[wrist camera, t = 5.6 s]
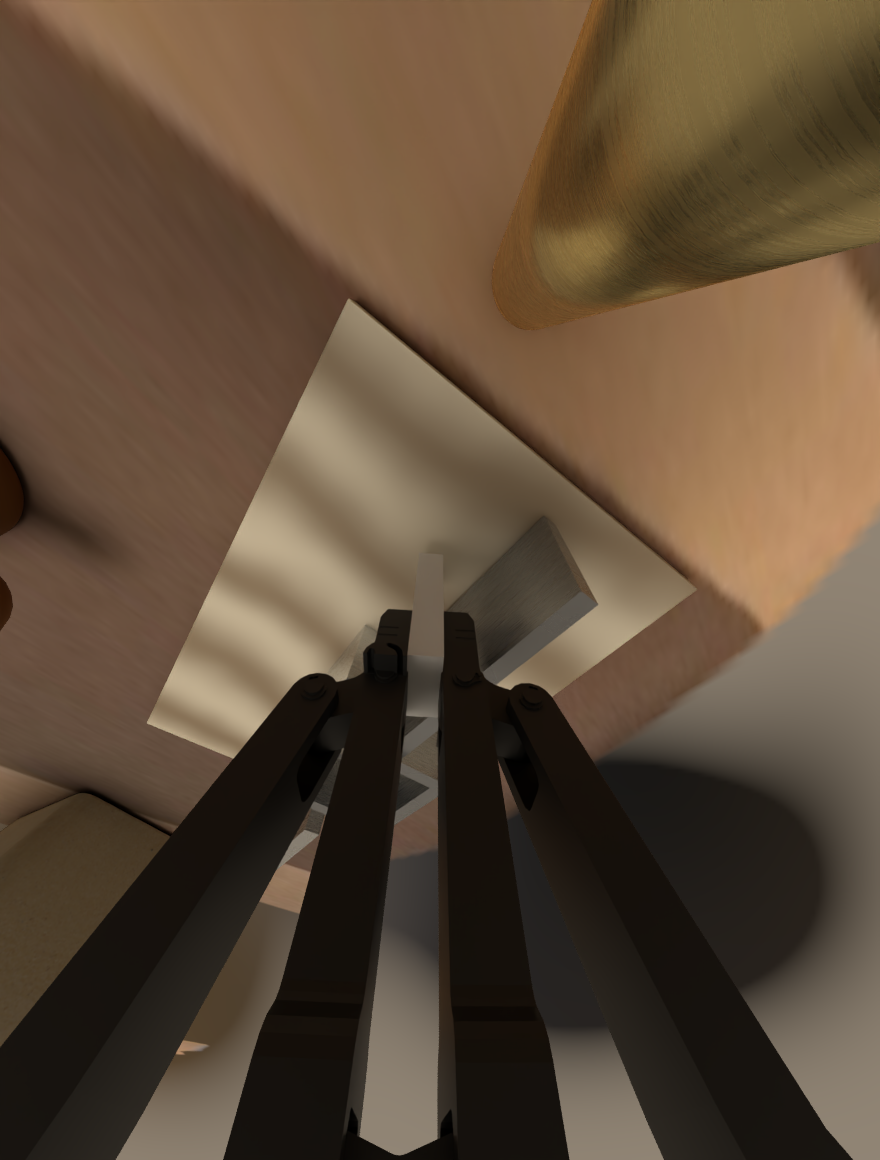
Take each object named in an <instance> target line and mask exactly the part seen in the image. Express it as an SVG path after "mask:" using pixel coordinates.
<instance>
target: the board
mask: <svg viewBox="0 0 880 1160" xmlns="http://www.w3.org/2000/svg"><path fill="white" fill-rule="evenodd" d="M543 516H545V517H546V518H548V519H549V520H550V521H551V522H552V523H554V524H555V525H556V526H557V528H558V530H559V532H560V534H561V535H562V537H563V539H564V541H565V543H566V545H567V547H568V549H569V550H570V552H571V554H572V556H573V558H574V560H575V562H576V564H577V565H578V567H579V569H580V571H581V573H582V575H583V577H584V579H585V580H586V582H587V584H588V586H589V588H590V590H591V592H592V594H593V595H594V597H595V599H596V601H597V603H598V606H596V607H595V608H594V609H592V610H591V611H590V612H589V613H587V614H586V615H585V616H584V617H582V618H581V619H580V620H578V621H577V622H576V623H575V624H573V625H572V626H571V627H569V628H568V629H567V630H566V631H564V632H563V633H562V634H561V635H559V636H558V637H557V638H555V639H554V640H553V641H552V642H550V643H549V644H548V645H546V646H545V647H544V648H543V649H541V650H540V651H539V652H538V653H536V654H535V655H534V656H532V657H531V658H530V659H529V660H527V661H526V662H525V663H524V664H522V665H521V666H520V667H518V668H517V669H516V670H515V671H513V672H512V673H511V674H509V675H508V676H507V677H506V678H504V679H503V680H502V681H501V682H499V683H498V684H497V686H500V687H503V688H506V689H509V690H511V689H512V688H513V687H514V686H515V685H518V684H520V683H531V684H535V685H538V686H540V687H542V688H543V689H545V690H546V691H547V692H548V693H549V694H550V695H551V696H554V695H555V694H556V693H558V692H559V691H561V690H562V689H563V688H565V687H566V686H567V685H569V684H570V683H571V682H573V681H574V680H575V679H577V678H578V677H580V676H581V675H582V674H584V673H585V672H586V671H588V670H589V669H590V668H592V667H593V666H594V665H596V664H597V663H598V662H600V661H601V660H603V659H604V658H605V657H607V656H608V655H609V654H611V653H612V652H613V651H615V650H616V649H617V648H619V647H620V646H621V645H623V644H624V643H626V642H627V641H628V640H630V639H631V638H632V637H634V636H635V635H636V634H638V633H639V632H640V631H642V630H643V629H644V628H646V627H647V626H649V625H650V624H651V623H653V622H654V621H655V620H657V619H658V618H659V617H661V616H662V615H663V614H665V613H666V612H668V611H669V610H670V609H672V608H673V607H674V606H676V605H677V604H678V603H680V602H681V601H682V600H684V599H685V598H686V597H688V596H689V595H691V594H692V593H693V592H695V591H696V590H697V588H696V587H695V586H694V585H693V584H692V583H691V582H690V581H689V580H688V579H687V578H685V577H684V576H683V575H682V574H681V573H679V572H678V571H677V570H676V569H675V568H673V567H672V566H671V565H670V564H669V563H667V562H666V561H665V560H664V559H663V558H662V557H660V556H659V555H658V554H657V553H656V552H654V551H653V550H652V549H651V548H650V547H648V546H647V545H646V544H645V543H644V542H642V541H641V540H640V539H639V538H638V537H636V536H635V535H634V534H633V533H632V532H630V531H629V530H628V529H627V528H626V527H624V526H623V525H622V524H621V523H620V522H618V521H617V520H616V519H615V518H614V517H612V516H611V515H610V514H609V513H608V512H606V511H605V510H604V509H603V508H602V507H600V506H599V505H598V504H597V503H596V502H594V501H593V500H592V499H591V498H590V497H588V496H587V495H586V494H585V493H584V492H583V491H581V490H580V489H579V488H578V487H577V486H575V485H574V484H573V483H572V482H571V481H569V480H568V479H567V478H566V477H565V476H563V475H562V474H561V473H560V472H559V471H557V470H556V469H555V468H554V467H553V466H551V465H550V464H549V463H548V462H547V461H545V460H544V459H543V458H542V457H541V456H539V455H538V454H537V453H536V452H535V451H533V450H532V449H531V448H530V447H529V446H527V445H526V444H525V443H524V442H523V441H521V440H520V439H519V438H518V437H517V436H515V435H514V434H513V433H512V432H511V431H509V430H508V429H507V428H506V427H505V426H503V425H502V424H501V423H500V422H499V421H498V420H496V419H495V418H494V417H493V416H492V415H490V414H489V413H488V412H487V411H486V410H484V409H483V408H482V407H481V406H480V405H478V404H477V403H476V402H475V401H474V400H472V399H471V398H470V397H469V396H468V395H466V394H465V393H464V392H463V391H462V390H460V389H459V388H458V387H457V386H456V385H454V384H453V383H452V382H451V381H450V380H448V379H447V378H446V377H445V376H444V375H442V374H441V373H440V372H439V371H438V370H436V369H435V368H434V367H433V366H432V365H430V364H429V363H428V362H427V361H426V360H424V359H423V358H422V357H421V356H420V355H419V354H417V353H416V352H415V351H414V350H413V349H411V348H410V347H409V346H408V345H407V344H405V343H404V342H403V341H402V340H401V339H399V338H398V337H397V336H396V335H395V334H393V333H392V332H391V331H390V330H389V329H387V328H386V327H385V326H384V325H383V324H381V323H380V322H379V321H378V320H377V319H375V318H374V317H373V316H372V315H371V314H369V313H368V312H367V311H366V310H365V309H363V308H362V307H361V306H360V305H359V304H357V303H356V302H355V301H353V300H351V299H348V300H347V302H346V304H345V307H344V309H343V311H342V313H341V315H340V317H339V319H338V321H337V323H336V325H335V328H334V330H333V332H332V334H331V336H330V338H329V340H328V342H327V344H326V347H325V349H324V351H323V353H322V355H321V357H320V359H319V361H318V363H317V366H316V368H315V370H314V372H313V374H312V376H311V378H310V380H309V382H308V385H307V387H306V389H305V391H304V393H303V395H302V397H301V399H300V401H299V404H298V406H297V408H296V410H295V412H294V414H293V416H292V418H291V420H290V422H289V425H288V427H287V429H286V431H285V433H284V435H283V437H282V439H281V441H280V444H279V446H278V448H277V450H276V452H275V454H274V456H273V458H272V460H271V463H270V465H269V467H268V469H267V471H266V473H265V475H264V477H263V479H262V482H261V484H260V486H259V488H258V490H257V492H256V494H255V496H254V498H253V500H252V503H251V505H250V507H249V509H248V511H247V513H246V515H245V517H244V519H243V522H242V524H241V526H240V528H239V530H238V532H237V534H236V536H235V538H234V541H233V543H232V545H231V547H230V549H229V551H228V553H227V555H226V557H225V560H224V562H223V564H222V566H221V568H220V570H219V572H218V574H217V576H216V578H215V581H214V583H213V585H212V587H211V589H210V591H209V593H208V595H207V597H206V600H205V602H204V604H203V606H202V608H201V610H200V612H199V614H198V616H197V619H196V621H195V623H194V625H193V627H192V629H191V631H190V633H189V635H188V638H187V640H186V642H185V644H184V646H183V648H182V650H181V652H180V654H179V656H178V659H177V661H176V663H175V665H174V667H173V669H172V671H171V673H170V675H169V678H168V680H167V682H166V684H165V686H164V688H163V690H162V692H161V694H160V697H159V699H158V701H157V703H156V705H155V707H154V709H153V711H152V713H151V716H150V718H149V720H148V722H147V724H150V725H152V726H155V727H157V728H160V729H162V730H165V731H167V732H169V733H172V734H174V735H177V736H179V737H182V738H184V739H187V740H189V741H191V742H194V743H196V744H199V745H201V746H204V747H206V748H209V749H211V750H214V751H216V752H218V753H221V754H223V755H226V756H228V757H231V758H233V759H234V757H235V756H236V755H237V754H238V752H239V751H240V750H241V749H242V747H243V746H244V745H245V744H246V743H247V741H248V740H249V739H250V738H251V736H252V735H253V734H254V733H255V731H256V730H257V729H258V728H259V726H260V725H261V724H262V723H263V722H264V720H265V719H266V718H267V717H268V715H269V714H270V713H271V712H272V710H273V709H274V708H275V707H276V705H277V704H278V703H279V702H280V701H281V699H282V698H283V697H284V696H285V694H286V693H287V692H288V691H289V689H290V688H291V687H292V686H293V684H294V683H296V682H297V681H298V680H299V679H300V678H302V677H304V676H306V675H308V674H314V673H324V674H326V673H327V672H328V671H329V669H330V668H331V667H332V666H333V664H334V663H335V662H336V661H337V659H338V658H339V657H340V656H341V654H342V653H343V652H344V651H345V650H346V648H347V647H348V646H349V645H350V643H351V642H352V641H353V640H354V638H355V637H356V636H357V635H358V633H359V632H360V631H361V630H362V628H363V627H364V626H365V625H367V626H369V627H371V628H373V629H374V630H376V631H378V627H379V622H380V618H381V616H382V615H383V614H384V613H385V612H386V610H387V609H399V610H413V602H414V593H415V584H416V576H417V567H418V559H419V553H429V554H443V596H444V611H448V610H449V609H450V608H451V607H452V606H453V605H454V604H455V603H456V602H457V601H458V600H459V599H460V598H461V597H462V596H463V595H464V594H465V593H466V592H467V591H468V590H469V589H470V588H471V587H472V586H473V585H474V584H475V583H476V582H477V581H478V580H479V579H480V578H481V577H482V576H483V575H484V574H485V573H486V572H487V571H488V570H489V569H490V568H491V567H492V566H493V565H494V564H495V563H496V562H497V561H498V560H499V559H500V558H501V557H502V556H503V555H504V554H505V553H506V552H507V551H508V550H509V549H510V548H511V547H512V546H513V545H514V544H515V543H516V542H517V541H518V540H519V539H520V538H521V537H522V536H523V535H525V534H526V533H527V532H528V531H529V530H530V529H531V528H532V527H533V526H534V525H535V524H536V523H537V522H538V521H539V520H540V519H541V518H542V517H543Z"/></svg>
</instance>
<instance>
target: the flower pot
mask: <svg viewBox="0 0 880 1160" xmlns="http://www.w3.org/2000/svg"><path fill="white" fill-rule="evenodd" d="M169 838H170V836H168V835H166V834H165V833H163V832H161V831H159V830H157V829H155V828H153V827H152V826H150V825H148V824H146V823H144V822H142V821H140V820H138V819H137V818H135V817H133V816H131V815H129V814H127V813H125V812H124V811H122V810H120V809H118V808H116V807H114V806H113V805H111V804H109V803H107V802H105V801H103V800H101V799H99V798H98V797H96V796H94V795H91V794H87V793H78V794H76V795H73V796H71V797H69V798H66V799H64V800H62V801H59V802H57V803H54V804H52V805H50V806H47V807H45V808H43V809H40V810H38V811H36V812H33V813H31V814H29V815H26V816H24V817H22V818H19V819H18V820H16V821H15V822H13V823H12V824H10V825H9V826H7V827H6V828H5V829H3V830H2V831H0V1047H1V1045H2V1044H3V1043H4V1042H5V1040H6V1039H7V1038H8V1037H9V1035H10V1034H11V1033H12V1032H13V1031H14V1029H15V1028H16V1027H17V1026H18V1024H19V1023H20V1022H21V1021H22V1019H23V1018H24V1017H25V1016H26V1014H27V1013H28V1012H29V1011H30V1009H31V1008H32V1007H33V1006H34V1005H35V1003H36V1002H37V1001H38V1000H39V998H40V997H41V996H42V995H43V993H44V992H45V991H46V990H47V988H48V987H49V986H50V985H51V984H52V982H53V981H54V980H55V979H56V977H57V976H58V975H59V974H60V972H61V971H62V970H63V969H64V967H65V966H66V965H67V964H68V963H69V961H70V960H71V959H72V958H73V956H74V955H75V954H76V953H77V951H78V950H79V949H80V948H81V946H82V945H83V944H84V943H85V942H86V940H87V939H88V938H89V937H90V935H91V934H92V933H93V932H94V930H95V929H96V928H97V927H98V925H99V924H100V923H101V922H102V921H103V919H104V918H105V917H106V916H107V914H108V913H109V912H110V911H111V909H112V908H113V907H114V906H115V904H116V903H117V902H118V901H119V899H120V898H121V897H122V896H123V895H124V893H125V892H126V891H127V890H128V888H129V887H130V886H131V885H132V883H133V882H134V881H135V880H136V878H137V877H138V876H139V875H140V874H141V872H142V871H143V870H144V869H145V867H146V866H147V865H148V864H149V862H150V861H151V860H152V859H153V857H154V856H155V855H156V854H157V853H158V851H159V850H160V849H161V848H162V846H163V845H164V844H165V843H166V841H167V840H168V839H169Z"/></svg>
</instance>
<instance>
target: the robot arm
mask: <svg viewBox="0 0 880 1160" xmlns="http://www.w3.org/2000/svg"><path fill="white" fill-rule="evenodd" d="M363 666H364V672H363V673H362V674H360V675H358V676H356V677H354V678H351V679H347V680H342V681H338V682H336V681H335V679H334V678H333V677H332V676H330V675H328V674H324V673H314V674H308V675H306V676H304V677H302V678H300V679H299V680H298V681H297V682H296V683H294V684H293V686H292V687H291V688H290V689H289V691H288V692H287V693H286V694H285V696H284V697H283V698H282V699H281V701H280V702H279V703H278V704H277V705H276V707H275V708H274V709H273V710H272V712H271V713H270V714H269V715H268V717H267V718H266V719H265V720H264V722H263V723H262V724H261V725H260V726H259V728H258V729H257V730H256V731H255V733H254V734H253V735H252V736H251V738H250V739H249V740H248V741H247V743H246V744H245V745H244V746H243V747H242V749H241V750H240V751H239V752H238V754H237V755H236V756H235V757H234V759H233V760H232V761H231V762H230V764H229V765H228V766H227V767H226V768H225V770H224V771H223V772H222V773H221V775H220V776H219V777H218V778H217V780H216V781H215V782H214V783H213V785H212V786H211V787H210V788H209V790H208V791H207V792H206V793H205V794H204V796H203V797H202V798H201V799H200V801H199V802H198V803H197V804H196V806H195V807H194V808H193V809H192V811H191V812H190V813H189V814H188V815H187V817H186V818H185V819H184V820H183V822H182V823H181V824H180V825H179V827H178V828H177V829H176V830H175V832H174V833H173V834H172V835H171V836H170V838H169V839H168V840H167V841H166V843H165V844H164V845H163V846H162V848H161V849H160V850H159V851H158V853H157V854H156V855H155V856H154V857H153V859H152V860H151V861H150V862H149V864H148V865H147V866H146V867H145V869H144V870H143V871H142V872H141V874H140V875H139V876H138V877H137V878H136V880H135V881H134V882H133V883H132V885H131V886H130V887H129V888H128V890H127V891H126V892H125V893H124V895H123V896H122V897H121V898H120V899H119V901H118V902H117V903H116V904H115V906H114V907H113V908H112V909H111V911H110V912H109V913H108V914H107V916H106V917H105V918H104V919H103V921H102V922H101V923H100V924H99V925H98V927H97V928H96V929H95V930H94V932H93V933H92V934H91V935H90V937H89V938H88V939H87V940H86V942H85V943H84V944H83V945H82V946H81V948H80V949H79V950H78V951H77V953H76V954H75V955H74V956H73V958H72V959H71V960H70V961H69V963H68V964H67V965H66V966H65V967H64V969H63V970H62V971H61V972H60V974H59V975H58V976H57V977H56V979H55V980H54V981H53V982H52V984H51V985H50V986H49V987H48V988H47V990H46V991H45V992H44V993H43V995H42V996H41V997H40V998H39V1000H38V1001H37V1002H36V1003H35V1005H34V1006H33V1007H32V1008H31V1009H30V1011H29V1012H28V1013H27V1014H26V1016H25V1017H24V1018H23V1019H22V1021H21V1022H20V1023H19V1024H18V1026H17V1027H16V1028H15V1029H14V1031H13V1032H12V1033H11V1034H10V1035H9V1037H8V1038H7V1039H6V1040H5V1042H4V1043H3V1044H2V1045H1V1047H0V1160H116V1158H117V1156H118V1155H119V1153H120V1151H121V1150H122V1147H123V1146H124V1144H125V1143H126V1141H127V1139H128V1138H129V1136H130V1134H131V1132H132V1131H133V1129H134V1127H135V1126H136V1124H137V1122H138V1120H139V1119H140V1117H141V1115H142V1114H143V1112H144V1110H145V1108H146V1106H147V1105H148V1103H149V1101H150V1099H151V1097H152V1096H153V1094H154V1092H155V1090H156V1088H157V1086H158V1085H159V1082H160V1081H161V1079H162V1077H163V1075H164V1074H165V1072H166V1070H167V1068H168V1066H169V1065H170V1063H171V1061H172V1059H173V1057H174V1055H175V1054H176V1052H177V1050H178V1048H179V1046H180V1044H181V1043H182V1041H183V1039H184V1037H185V1035H186V1034H187V1032H188V1030H189V1028H190V1026H191V1024H192V1023H193V1021H194V1019H195V1017H196V1015H197V1013H198V1012H199V1009H200V1008H201V1006H202V1004H203V1003H204V1001H205V999H206V997H207V995H208V993H209V991H210V990H211V988H212V986H213V984H214V983H215V981H216V979H217V977H218V975H219V973H220V972H221V970H222V968H223V966H224V964H225V963H226V961H227V959H228V957H229V955H230V953H231V952H232V950H233V948H234V946H235V944H236V942H237V940H238V939H239V937H240V935H241V933H242V931H243V930H244V928H245V926H246V924H247V922H248V920H249V919H250V917H251V915H252V913H253V911H254V910H255V908H256V906H257V904H258V902H259V901H260V899H261V897H262V895H263V893H264V891H265V890H266V888H267V886H268V884H269V882H270V881H271V879H272V877H273V875H274V873H275V871H276V870H277V868H278V866H279V864H280V862H281V860H282V859H283V857H284V855H285V853H286V851H287V850H288V848H289V846H290V844H291V842H292V840H293V839H294V837H295V835H296V833H297V831H298V830H299V828H300V826H301V824H302V822H303V820H304V819H305V817H306V815H307V813H308V811H309V809H310V808H311V806H312V804H313V802H314V800H315V799H316V797H317V795H318V793H319V791H320V789H321V788H322V786H323V784H324V782H325V780H326V778H327V777H328V775H329V773H330V771H331V769H332V768H333V766H334V764H335V762H336V760H337V758H338V757H339V755H340V753H341V751H342V748H344V750H343V753H342V757H341V761H340V765H339V768H338V772H337V776H336V780H335V784H334V787H333V791H332V795H331V799H330V802H329V806H328V810H327V814H326V817H325V821H324V825H323V829H322V832H321V836H320V840H319V844H318V847H317V851H316V855H315V859H314V862H313V866H312V870H311V874H310V877H309V881H308V885H307V889H306V892H305V896H304V900H303V904H302V907H301V911H300V915H299V919H298V922H297V926H296V930H295V934H294V938H293V941H292V945H291V949H290V952H289V956H288V960H287V964H286V967H285V971H284V975H283V979H282V982H281V986H280V989H279V992H278V994H277V997H276V999H275V1001H274V1003H273V1005H272V1006H271V1008H270V1010H269V1011H268V1013H267V1015H266V1017H265V1020H264V1022H263V1025H262V1028H261V1030H260V1033H259V1036H258V1039H257V1043H256V1046H255V1049H254V1052H253V1056H252V1059H251V1063H250V1066H249V1070H248V1073H247V1077H246V1080H245V1084H244V1087H243V1091H242V1094H241V1098H240V1102H239V1105H238V1109H237V1112H236V1116H235V1120H234V1123H233V1127H232V1130H231V1134H230V1137H229V1141H228V1145H227V1148H226V1152H225V1155H224V1159H223V1160H569V1154H568V1148H567V1142H566V1137H565V1130H564V1124H563V1119H562V1112H561V1106H560V1100H559V1094H558V1088H557V1082H556V1076H555V1070H554V1064H553V1058H552V1053H551V1049H550V1043H549V1038H548V1035H547V1031H546V1028H545V1024H544V1021H543V1019H542V1017H541V1015H540V1013H539V1011H538V1008H537V1006H536V1002H535V999H534V995H533V990H532V983H531V976H530V970H529V964H528V956H527V950H526V943H525V937H524V930H523V924H522V917H521V911H520V904H519V898H518V890H517V884H516V877H515V871H514V865H513V857H512V851H511V844H510V838H509V831H508V824H507V818H506V811H505V805H504V798H503V791H502V785H501V778H500V772H499V765H498V761H499V763H500V766H501V768H502V771H503V773H504V775H505V778H506V780H507V783H508V785H509V788H510V790H511V792H512V795H513V797H514V800H515V802H516V805H517V807H518V809H519V812H520V814H521V817H522V819H523V821H524V824H525V826H526V829H527V831H528V834H529V836H530V838H531V841H532V843H533V846H534V848H535V851H536V853H537V855H538V858H539V860H540V862H541V865H542V868H543V870H544V872H545V875H546V877H547V880H548V882H549V885H550V887H551V889H552V892H553V894H554V897H555V899H556V901H557V904H558V906H559V909H560V911H561V914H562V916H563V919H564V921H565V923H566V926H567V928H568V931H569V933H570V935H571V938H572V940H573V943H574V945H575V948H576V950H577V953H578V955H579V957H580V960H581V962H582V965H583V967H584V970H585V972H586V974H587V977H588V979H589V982H590V984H591V987H592V989H593V991H594V994H595V996H596V999H597V1001H598V1004H599V1006H600V1008H601V1011H602V1013H603V1016H604V1018H605V1020H606V1023H607V1025H608V1028H609V1030H610V1033H611V1035H612V1038H613V1040H614V1042H615V1045H616V1047H617V1050H618V1052H619V1054H620V1057H621V1059H622V1062H623V1064H624V1066H625V1069H626V1072H627V1074H628V1076H629V1079H630V1081H631V1084H632V1086H633V1089H634V1091H635V1093H636V1096H637V1098H638V1101H639V1103H640V1106H641V1108H642V1110H643V1113H644V1115H645V1118H646V1120H647V1122H648V1125H649V1127H650V1129H651V1131H652V1133H653V1135H654V1138H655V1140H656V1143H657V1145H658V1147H659V1149H660V1151H661V1154H662V1156H663V1158H664V1160H853V1159H852V1158H851V1157H850V1156H849V1154H848V1153H847V1152H846V1151H845V1150H844V1149H843V1148H842V1146H841V1145H840V1144H839V1143H838V1142H837V1141H836V1139H835V1138H834V1137H833V1136H832V1135H831V1134H830V1133H829V1131H828V1130H827V1129H826V1128H825V1126H824V1125H823V1123H822V1121H821V1120H820V1118H819V1117H818V1115H817V1113H816V1112H815V1110H814V1109H813V1107H812V1106H811V1104H810V1102H809V1101H808V1099H807V1098H806V1096H805V1095H804V1093H803V1091H802V1090H801V1088H800V1087H799V1085H798V1084H797V1082H796V1080H795V1079H794V1077H793V1076H792V1074H791V1073H790V1071H789V1069H788V1068H787V1066H786V1065H785V1063H784V1062H783V1060H782V1059H781V1057H780V1055H779V1054H778V1053H777V1051H776V1049H775V1048H774V1046H773V1044H772V1043H771V1041H770V1040H769V1038H768V1036H767V1035H766V1033H765V1032H764V1030H763V1029H762V1027H761V1025H760V1024H759V1022H758V1021H757V1019H756V1018H755V1016H754V1014H753V1013H752V1011H751V1010H750V1008H749V1007H748V1005H747V1003H746V1002H745V1000H744V999H743V997H742V996H741V994H740V993H739V991H738V989H737V988H736V986H735V984H734V983H733V981H732V980H731V978H730V977H729V975H728V974H727V972H726V971H725V969H724V967H723V966H722V964H721V962H720V961H719V959H718V958H717V956H716V955H715V953H714V951H713V950H712V948H711V947H710V945H709V944H708V942H707V940H706V939H705V937H704V936H703V934H702V933H701V931H700V929H699V928H698V926H697V925H696V923H695V922H694V920H693V918H692V917H691V915H690V914H689V912H688V911H687V909H686V907H685V906H684V904H683V903H682V901H681V900H680V898H679V896H678V895H677V893H676V892H675V890H674V888H673V887H672V885H671V884H670V882H669V881H668V879H667V878H666V876H665V875H664V873H663V871H662V870H661V868H660V866H659V865H658V863H657V862H656V860H655V859H654V857H653V855H652V854H651V852H650V851H649V849H648V848H647V846H646V844H645V843H644V841H643V840H642V838H641V837H640V835H639V833H638V832H637V830H636V829H635V827H634V826H633V824H632V823H631V821H630V819H629V818H628V816H627V815H626V813H625V811H624V810H623V808H622V807H621V805H620V803H619V802H618V800H617V799H616V797H615V796H614V794H613V793H612V791H611V789H610V788H609V786H608V785H607V783H606V781H605V780H604V778H603V777H602V775H601V774H600V772H599V770H598V769H597V767H596V766H595V764H594V763H593V761H592V759H591V758H590V756H589V755H588V753H587V752H586V750H585V748H584V747H583V745H582V744H581V742H580V741H579V739H578V737H577V736H576V734H575V733H574V731H573V730H572V728H571V726H570V725H569V723H568V722H567V720H566V719H565V717H564V715H563V714H562V712H561V711H560V709H559V708H558V706H557V704H556V703H555V701H554V700H553V698H552V696H551V695H550V694H549V693H548V692H547V691H546V690H545V689H543V688H542V687H540V686H538V685H535V684H531V683H520V684H518V685H515V686H514V687H513V688H512V689H511V690H509V689H506V688H503V687H500V686H497V685H495V684H493V683H491V682H490V681H488V680H487V679H486V678H485V677H484V674H483V673H482V672H481V670H480V666H479V658H478V650H477V641H476V633H475V625H474V620H473V619H472V618H471V616H470V615H469V614H468V613H464V612H447V611H444V596H443V554H429V553H419V559H418V567H417V576H416V584H415V593H414V602H413V610H399V609H387V610H386V612H385V613H384V614H383V615H382V616H381V618H380V622H379V627H378V631H377V635H376V639H375V642H374V643H371V644H370V645H369V646H367V647H366V648H365V650H364V652H363ZM406 716H415V717H436V718H438V733H437V743H436V747H438V892H439V894H438V897H439V1054H438V1139H437V1140H435V1141H433V1142H431V1143H429V1144H427V1145H424V1146H422V1147H420V1148H418V1149H416V1150H414V1151H411V1152H409V1153H407V1154H404V1155H400V1156H399V1155H394V1154H391V1153H389V1152H388V1151H386V1150H384V1149H382V1148H380V1147H378V1146H376V1145H374V1144H372V1143H370V1142H368V1141H366V1140H364V1139H362V1138H361V1137H359V1135H360V1126H361V1118H362V1109H363V1100H364V1091H365V1082H366V1071H367V1061H368V1048H369V1047H368V1046H369V1036H370V1027H371V1018H372V1008H373V1001H374V992H375V984H376V975H377V966H378V958H379V949H380V941H381V932H382V923H383V916H384V906H385V898H386V890H387V881H388V872H389V864H390V856H391V847H392V839H393V830H394V822H395V813H396V805H397V796H398V788H399V779H400V771H401V762H402V754H403V745H404V736H405V720H406Z"/></svg>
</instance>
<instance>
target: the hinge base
mask: <svg viewBox="0 0 880 1160" xmlns="http://www.w3.org/2000/svg"><path fill="white" fill-rule="evenodd" d="M376 635H377V631H376V630H374V629H373V628H371V627H369V626H367V625H365V626H364V627H363V628H362V630H361V631H360V632H359V633H358V635H357V636H356V637H355V638H354V640H353V641H352V642H351V643H350V645H349V646H348V647H347V648H346V650H345V651H344V652H343V653H342V654H341V656H340V657H339V658H338V659H337V661H336V662H335V663H334V664H333V666H332V667H331V668H330V669H329V671H328V672H327V673H326V674H328V675H330V676H332V677H333V678H334V679H335V681H336V682H338V681H342V680H347V679H351V678H354V677H356V676H358V675H360V674H362V673H363V672H364V666H363V652H364V650H365V648H366V647H367V646H369V645H370V644H371V643H374V642H375V639H376ZM343 750H344V748H342V751H341V753H340V755H339V757H338V758H339V759H341V757H342V753H343ZM324 815H325V814H323V813H321V812H318V811H316V810H313V809H311V808H310V809H309V811H308V813H307V815H306V817H305V819H304V820H303V822H302V824H301V826H300V828H299V830H298V831H297V833H296V835H295V837H294V839H293V840H292V842H291V844H290V846H289V848H288V850H287V851H286V853H285V855H284V857H283V859H282V860H281V862H280V864H279V866H278V868H279V867H281V866H282V865H283V864H284V863H286V862H287V861H288V860H289V859H290V858H292V857H293V856H294V855H295V854H296V853H298V852H299V851H300V850H301V849H302V848H304V847H305V846H306V845H307V844H308V843H310V842H311V841H312V840H313V839H314V838H316V837H317V836H318V835H319V832H320V829H321V825H322V822H323V818H324ZM278 868H277V869H278Z"/></svg>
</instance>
